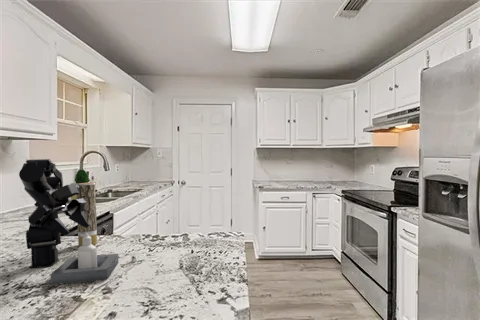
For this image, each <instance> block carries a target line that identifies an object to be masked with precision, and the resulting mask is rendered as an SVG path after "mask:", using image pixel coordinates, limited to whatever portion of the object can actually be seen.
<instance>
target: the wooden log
mask: <svg viewBox="0 0 480 320" xmlns="http://www.w3.org/2000/svg"><path fill="white" fill-rule="evenodd" d="M77 185H78V186H79V187H80V191H79V194H77V199H78V198H83V199H84V200H85V201H86V204H85V207H84V210H83V211H84V214H85V217H86V219H87V221H88V224H89V226H88V228H85V227H83V226H81V225H80V224H78V223H77V238H78V239H77V241H78V242H77V243H78V246H79V247H80V246H82V238H83V237H85V233H88V235H89V236H90V237H91V244H92V245H94V246H95V245H96V244H97V243H98V239H97V238H98V231H97V228H98V227H97V225H98V223H97V203H96V202H97V200H96V197H97V196H96V195H97V194H96V183H95V182H88V183H79V184H77Z"/></svg>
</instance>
